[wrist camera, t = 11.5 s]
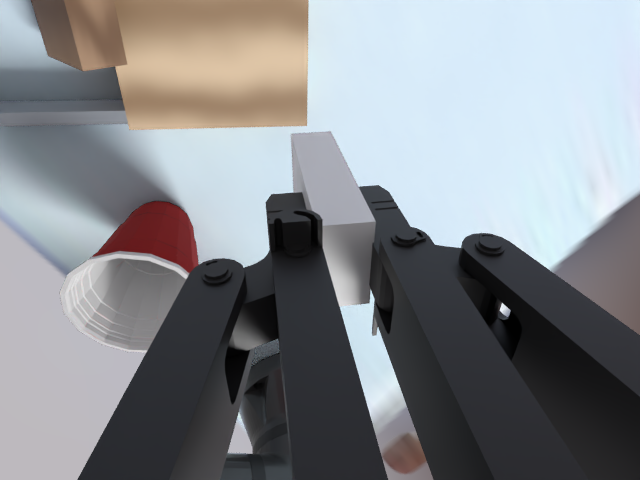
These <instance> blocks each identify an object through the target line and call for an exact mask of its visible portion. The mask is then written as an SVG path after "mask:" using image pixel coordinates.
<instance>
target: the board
mask: <svg viewBox="0 0 640 480" xmlns="http://www.w3.org/2000/svg"><path fill="white" fill-rule="evenodd" d="M114 3H115V8H116V12H117V17H118V22H119V27H120V31H121V36H122V41H123V45H124V50H125V55H126V60H127V64H128V65H122V66H115V68H116V73H117V77H118V81H119V86H120V90H121V95H122V99H123V103H124V108H125V112H126V117H127V121H128V125H129V130H145V129H188V128H231V127H274V126H307V74H308V0H114Z"/></svg>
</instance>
